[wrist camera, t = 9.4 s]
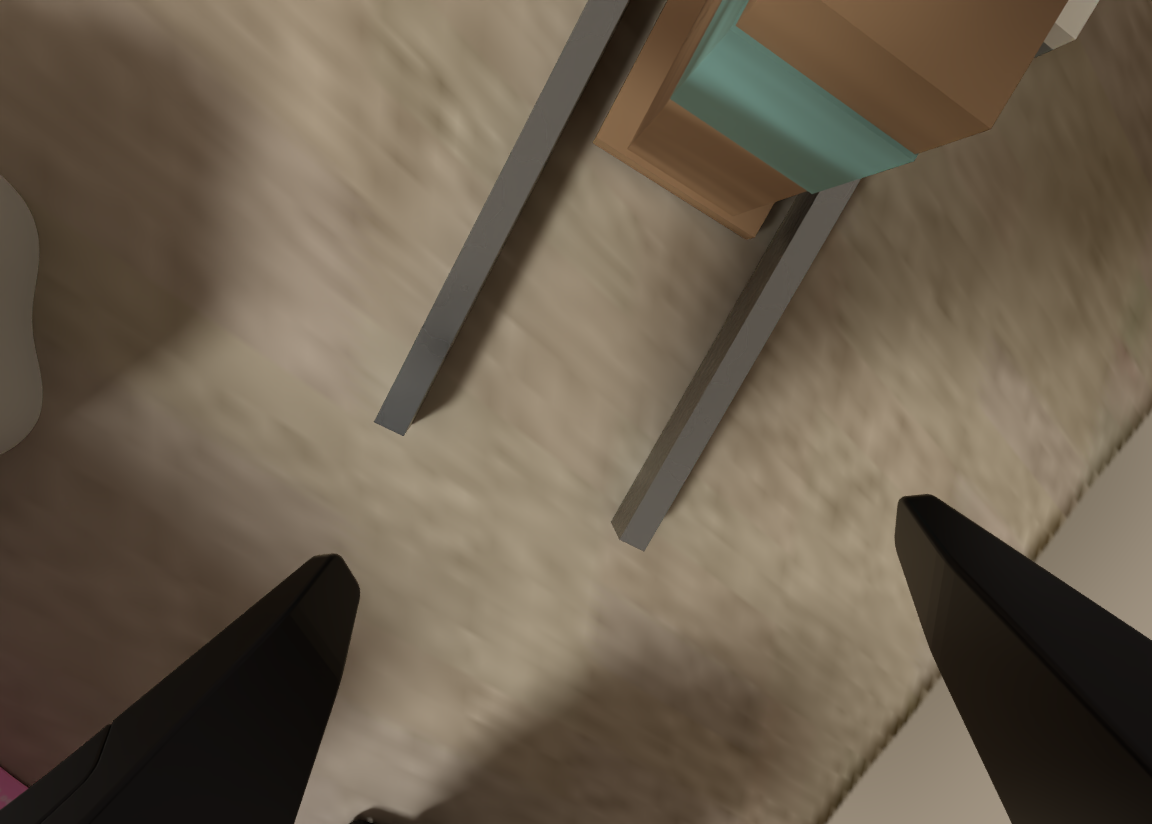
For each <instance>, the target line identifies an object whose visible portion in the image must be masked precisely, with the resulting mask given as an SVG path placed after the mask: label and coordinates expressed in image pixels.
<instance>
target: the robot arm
mask: <svg viewBox="0 0 1152 824" xmlns="http://www.w3.org/2000/svg"><path fill="white" fill-rule="evenodd" d="M895 547H896V551H897V554H898V557H899V560H900V563H901V566H902V569H903V572H904V575H905V578H906V581H907V584H908V587H909V590H910V593H911V596H912V599H913V602H914V605H915V608H916V610H917V613H918V616H919V619H920V622H921V625H922V628H923V631H924V634H925V637H926V640H927V642H928V645H929V648H930V651H931V653H932V655H933V657H934V660H935V662H936V664H937V667H938V669H939V671H940V673H941V675H942V677H943V679H944V681H945V683H946V686H947V688H948V690H949V692H950V694H951V696H952V698H953V700H954V702H955V704H956V707H957V709H958V711H959V713H960V715H961V717H962V719H963V721H964V723H965V726H966V728H967V730H968V732H969V734H970V736H971V738H972V740H973V742H974V745H975V747H976V749H977V751H978V753H979V755H980V757H981V759H982V761H983V764H984V766H985V768H986V770H987V772H988V774H989V776H990V778H991V780H992V782H993V785H994V787H995V789H996V791H997V793H998V795H999V797H1000V799H1001V801H1002V804H1003V806H1004V808H1005V810H1006V812H1007V814H1008V816H1009V818H1010V820H1011V823H1012V824H1152V640H1150V639H1149V638H1147V637H1146V636H1144V635H1143V634H1141V633H1140V632H1138V631H1137V630H1135V629H1134V628H1132V627H1131V626H1129V625H1128V624H1126V623H1125V622H1123V621H1122V620H1120V619H1118V618H1117V617H1116V616H1114V615H1113V614H1111V613H1110V612H1108V611H1107V610H1105V609H1104V608H1102V607H1101V606H1099V605H1098V604H1096V603H1095V602H1093V601H1092V600H1090V599H1089V598H1087V597H1086V596H1084V595H1082V594H1081V593H1080V592H1078V591H1077V590H1075V589H1073V588H1072V587H1071V586H1069V585H1068V584H1066V583H1065V582H1063V581H1062V580H1060V579H1059V578H1057V577H1056V576H1054V575H1053V574H1051V573H1050V572H1048V571H1047V570H1045V569H1044V568H1042V567H1041V566H1039V565H1038V564H1036V563H1035V562H1033V561H1032V560H1030V559H1029V558H1027V557H1026V556H1024V555H1023V554H1021V553H1020V552H1018V551H1017V550H1015V549H1014V548H1012V547H1011V546H1009V545H1008V544H1006V543H1005V542H1003V541H1002V540H1000V539H999V538H997V537H996V536H994V535H993V534H991V533H989V532H988V531H986V530H985V529H983V528H982V527H980V526H979V525H977V524H976V523H974V522H973V521H971V520H970V519H968V518H967V517H965V516H964V515H962V514H961V513H959V512H958V511H956V510H955V509H953V508H952V507H950V506H949V505H947V504H946V503H944V502H943V501H941V500H940V499H938V498H937V497H935V496H933V495H930V494H923V495H913V496H904V497H902V498H900V500H899V502H898V506H897V516H896V527H895ZM359 600H360V588H359V584H358V582H357V581H356V579H355V577H354V576H353V574H352V573H351V571H350V569H349V568H348V566H347V564H346V563H345V561H344V560H343V558H342V557H341V556H340V555H338V554H324V555H317V556H314V557H312V558H311V559H309V560H308V561H307V562H306V563H305V564H303V565H302V566H301V567H300V568H298V569H297V570H296V571H295V572H294V573H292V574H291V575H290V576H289V577H287V578H286V579H285V580H284V581H283V582H281V583H280V584H279V585H278V586H276V587H275V588H274V589H273V590H272V591H270V592H269V593H268V594H267V595H266V596H264V597H263V598H262V599H261V600H259V601H258V602H257V603H256V604H255V605H253V606H252V607H251V608H250V609H248V610H247V611H246V612H245V613H244V614H242V615H241V616H240V617H239V618H237V619H236V620H235V621H234V622H233V623H231V624H230V625H229V626H228V627H227V628H225V629H224V630H223V631H222V632H220V633H219V634H218V635H217V636H216V637H214V638H213V639H212V640H211V641H209V642H208V643H207V644H206V645H205V646H203V647H202V648H201V649H200V650H198V651H197V652H196V653H195V654H194V655H192V656H191V657H190V658H189V659H188V660H186V661H185V662H184V663H183V664H181V665H180V666H179V667H178V668H177V669H175V670H174V671H173V672H172V673H170V674H169V675H168V676H167V677H166V678H164V679H163V680H162V681H161V682H159V683H158V684H157V685H156V686H155V687H153V688H152V689H151V690H150V691H149V692H147V693H146V694H145V695H144V696H142V697H141V698H140V699H139V700H138V701H136V702H135V703H134V704H133V705H131V706H130V707H129V708H128V709H127V710H125V711H124V712H123V713H122V714H121V715H119V716H118V717H117V718H116V719H114V721H113V723H112V724H109V725H107V726H106V727H104V728H103V729H102V730H101V731H100V732H98V733H97V734H96V735H95V736H94V737H92V738H91V739H90V740H89V741H88V742H86V743H85V744H84V745H83V746H81V747H80V748H79V749H78V750H76V751H75V752H74V753H73V754H71V755H70V756H69V757H68V758H66V759H65V760H64V761H63V762H61V763H60V764H59V765H58V766H56V767H55V768H54V769H53V770H51V771H50V772H49V773H48V774H46V775H45V776H44V777H43V778H41V779H40V780H39V781H37V782H36V783H35V784H33V785H32V786H31V787H29V788H28V789H27V790H26V791H24V792H23V793H22V794H20V795H19V796H18V797H16V798H15V799H14V800H12V801H11V802H10V803H8V804H7V805H6V806H5V807H3V808H2V809H1V810H0V824H294V822H295V819H296V816H297V813H298V810H299V807H300V804H301V801H302V798H303V795H304V792H305V789H306V786H307V783H308V780H309V777H310V774H311V771H312V768H313V765H314V762H315V759H316V756H317V753H318V750H319V747H320V744H321V741H322V738H323V735H324V732H325V729H326V726H327V722H328V719H329V716H330V713H331V710H332V707H333V704H334V701H335V698H336V695H337V692H338V689H339V685H340V682H341V678H342V674H343V670H344V666H345V662H346V657H347V653H348V648H349V644H350V640H351V635H352V631H353V626H354V622H355V617H356V613H357V609H358V604H359ZM349 824H373V823H370V822H367V821H364V820H356V821H353V822H351V823H349Z"/></svg>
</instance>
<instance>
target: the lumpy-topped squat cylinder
mask: <svg viewBox="0 0 1152 824" xmlns="http://www.w3.org/2000/svg"><path fill="white" fill-rule="evenodd" d="M38 267H39V238H38V232H37V228H36V224H35V221H34V219H33V216H32V214H31V212H30V210H29V208H28V206H27V205H26V203H25V202H24V200H23V199H22V197H21V196H20V195H19V193H18V192H17V191H16V190H15V189H14V187H13V186H12V185H11V184H10V183H9V182H8V181H7V180H6V179H5V178H4V177H3V176H2V175H0V455H1V454H3V453H5V452H7V451H8V450H10V449H11V448H13V447H14V446H16V445H17V444H18V443H20V442H21V441H22V440H23V439H24V438H25V437H26V436H27V435H28V434H29V433H30V432H31V430H32V429H33V427H34V426H35V424H36V422H37V420H38V418H39V415H40V412H41V408H42V400H43V389H42V379H41V373H40V368H39V363H38V358H37V354H36V349H35V344H34V337H33V328H32V309H33V300H34V293H35V287H36V281H37V275H38Z"/></svg>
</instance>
